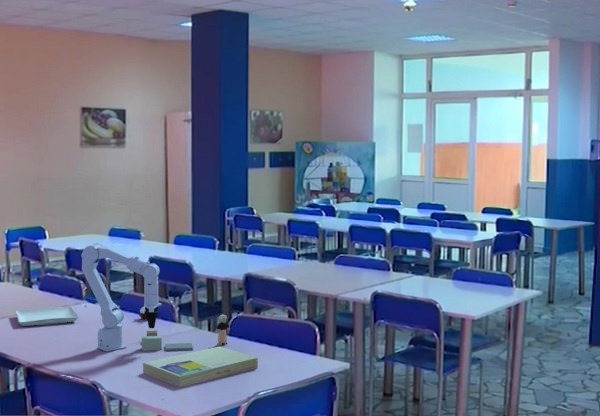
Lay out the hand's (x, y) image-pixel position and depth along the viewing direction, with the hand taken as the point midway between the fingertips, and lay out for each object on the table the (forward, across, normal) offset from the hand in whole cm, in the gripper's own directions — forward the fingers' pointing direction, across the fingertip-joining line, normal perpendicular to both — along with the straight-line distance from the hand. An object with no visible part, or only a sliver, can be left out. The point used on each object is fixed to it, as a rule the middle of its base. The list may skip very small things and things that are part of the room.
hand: (151, 326), depth 308 cm
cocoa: (+10, +57, +3) cm, 58 cm away
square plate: (+10, +64, +51) cm, 82 cm away
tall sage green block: (+10, 0, 0) cm, 10 cm away
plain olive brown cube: (+10, +12, 0) cm, 16 cm away
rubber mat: (+10, -1, -11) cm, 15 cm away
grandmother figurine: (+10, +3, -30) cm, 31 cm away
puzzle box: (+10, -35, -18) cm, 40 cm away
